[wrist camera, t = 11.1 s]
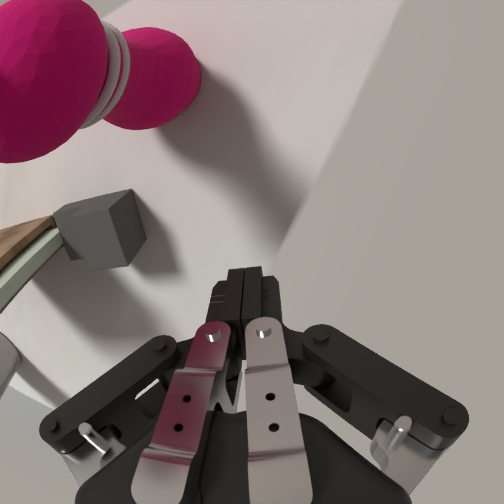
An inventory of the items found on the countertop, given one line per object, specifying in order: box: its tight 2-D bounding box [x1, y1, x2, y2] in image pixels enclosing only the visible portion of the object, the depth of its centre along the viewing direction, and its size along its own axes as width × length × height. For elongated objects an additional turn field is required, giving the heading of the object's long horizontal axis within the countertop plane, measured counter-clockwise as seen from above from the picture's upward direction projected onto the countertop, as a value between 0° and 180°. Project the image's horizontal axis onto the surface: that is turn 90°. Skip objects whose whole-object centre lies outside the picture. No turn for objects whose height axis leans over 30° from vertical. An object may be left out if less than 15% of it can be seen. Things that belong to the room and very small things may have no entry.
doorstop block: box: [53, 189, 146, 270], centre depth 24 cm, size 8×5×5 cm, turn 98°
